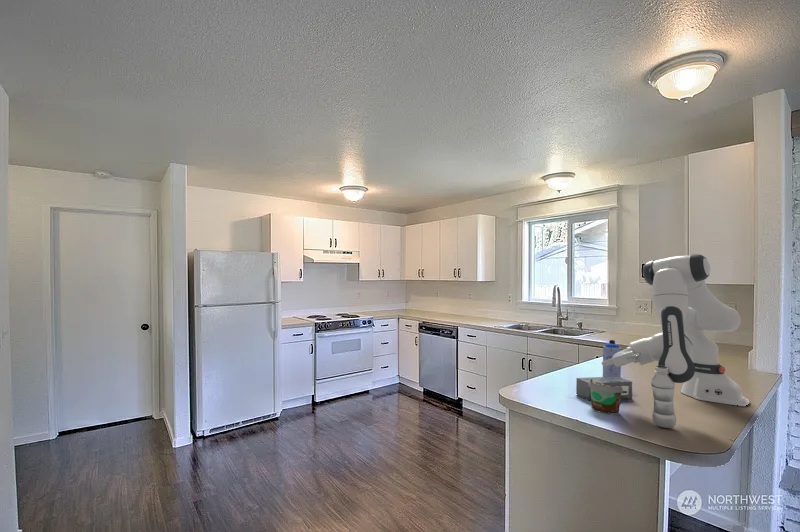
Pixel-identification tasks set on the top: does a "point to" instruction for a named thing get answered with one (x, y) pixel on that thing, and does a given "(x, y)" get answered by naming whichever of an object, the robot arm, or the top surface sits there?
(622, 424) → the top surface
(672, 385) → the plastic bottle
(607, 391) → the food container
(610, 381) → the box
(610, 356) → the aerosol can
